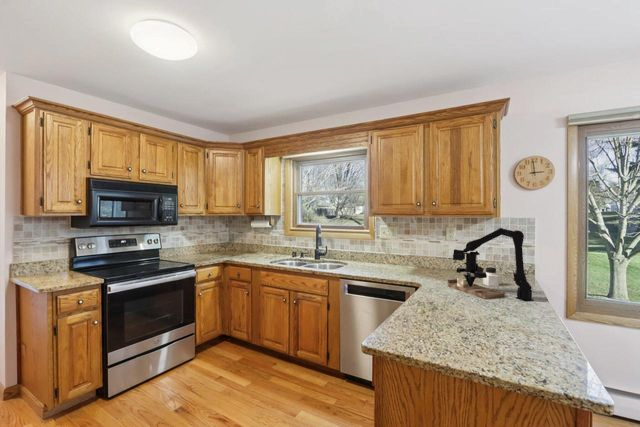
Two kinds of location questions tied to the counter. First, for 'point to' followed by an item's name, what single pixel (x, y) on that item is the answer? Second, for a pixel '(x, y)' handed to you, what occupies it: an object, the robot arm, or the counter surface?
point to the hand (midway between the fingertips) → (470, 286)
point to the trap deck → (477, 290)
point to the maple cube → (462, 283)
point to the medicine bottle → (491, 277)
